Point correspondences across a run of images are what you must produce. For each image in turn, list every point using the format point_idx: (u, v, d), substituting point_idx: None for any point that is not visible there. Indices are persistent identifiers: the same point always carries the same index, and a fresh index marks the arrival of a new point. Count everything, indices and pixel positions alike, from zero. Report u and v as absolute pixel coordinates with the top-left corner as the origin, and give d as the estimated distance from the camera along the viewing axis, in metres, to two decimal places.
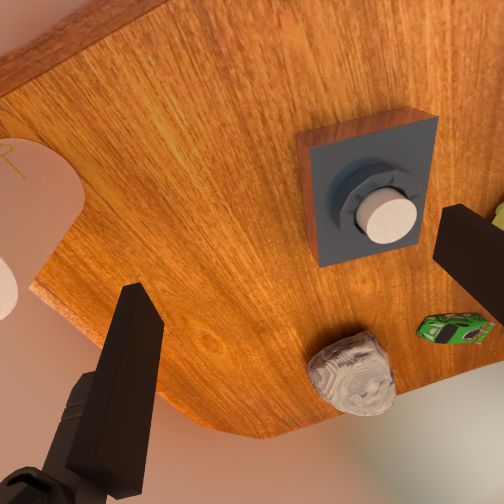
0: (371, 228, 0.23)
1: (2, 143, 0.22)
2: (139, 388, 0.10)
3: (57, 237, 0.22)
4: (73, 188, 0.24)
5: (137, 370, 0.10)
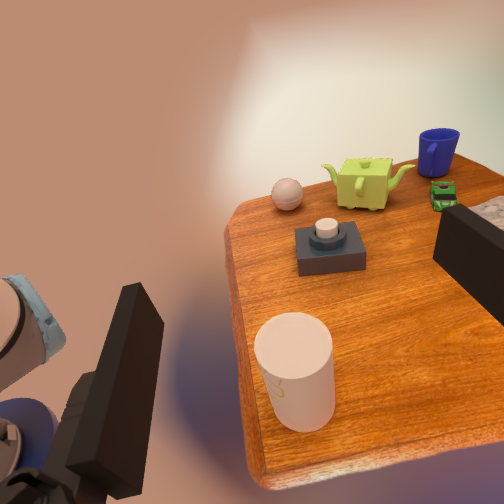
0: (328, 228, 0.54)
1: None
2: (140, 388, 0.10)
3: None
4: None
5: (137, 370, 0.10)
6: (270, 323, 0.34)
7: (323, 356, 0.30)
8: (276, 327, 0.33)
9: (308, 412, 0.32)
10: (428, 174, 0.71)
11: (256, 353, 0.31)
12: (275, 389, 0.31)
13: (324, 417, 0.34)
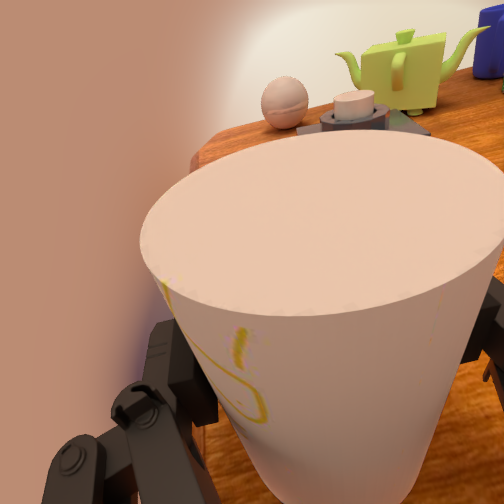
0: (357, 98, 0.30)
1: None
2: None
3: None
4: None
5: None
6: (224, 162, 0.10)
7: (477, 205, 0.05)
8: (242, 166, 0.09)
9: (365, 480, 0.08)
10: (496, 65, 0.47)
11: (146, 232, 0.07)
12: (228, 389, 0.07)
13: (409, 483, 0.10)
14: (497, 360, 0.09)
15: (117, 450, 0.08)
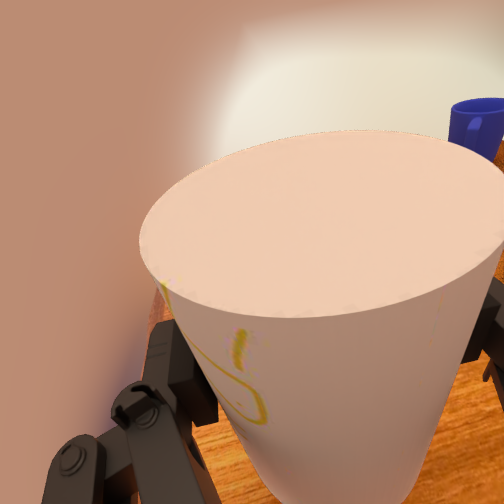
0: None
1: None
2: None
3: None
4: None
5: None
6: (223, 162, 0.10)
7: (478, 206, 0.05)
8: (242, 167, 0.09)
9: (365, 481, 0.08)
10: None
11: (145, 233, 0.07)
12: (228, 390, 0.07)
13: (409, 484, 0.10)
14: (497, 360, 0.09)
15: (117, 450, 0.08)
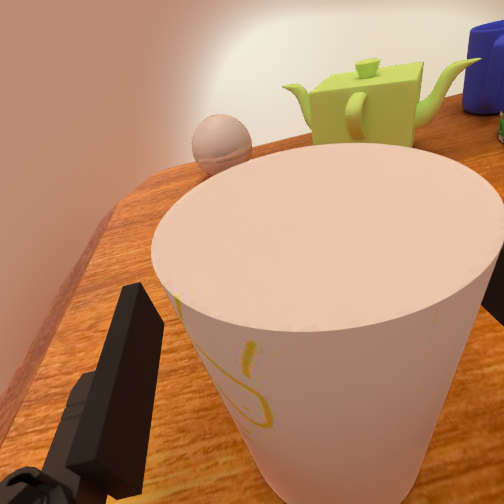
0: None
1: None
2: (140, 388, 0.10)
3: None
4: None
5: (137, 370, 0.10)
6: (229, 174, 0.10)
7: (471, 224, 0.06)
8: (247, 178, 0.10)
9: (365, 482, 0.09)
10: (491, 101, 0.36)
11: (156, 245, 0.07)
12: (235, 396, 0.07)
13: (408, 484, 0.11)
14: None
15: None
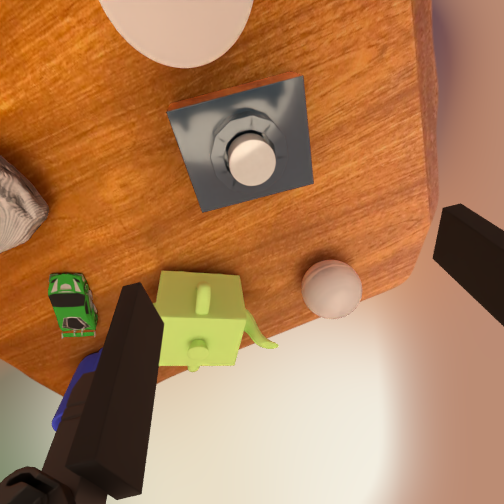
0: (247, 145, 0.24)
1: None
2: (140, 388, 0.10)
3: None
4: None
5: (137, 370, 0.10)
6: (233, 26, 0.16)
7: None
8: (218, 14, 0.16)
9: None
10: None
11: None
12: None
13: None
14: None
15: None
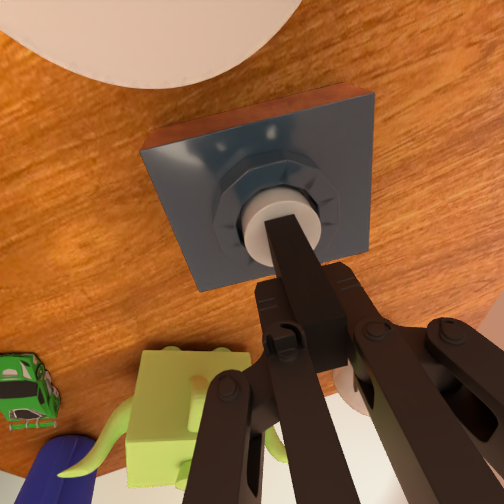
0: (277, 209, 0.14)
1: None
2: None
3: None
4: None
5: None
6: None
7: None
8: None
9: None
10: (65, 443, 0.32)
11: None
12: None
13: None
14: (357, 373, 0.09)
15: (260, 384, 0.09)
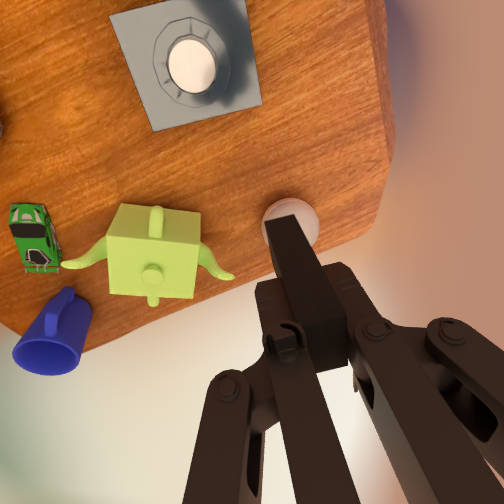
0: (185, 45, 0.25)
1: None
2: None
3: None
4: None
5: None
6: None
7: None
8: None
9: None
10: (65, 287, 0.43)
11: None
12: None
13: None
14: (357, 373, 0.09)
15: (260, 384, 0.09)
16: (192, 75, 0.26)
